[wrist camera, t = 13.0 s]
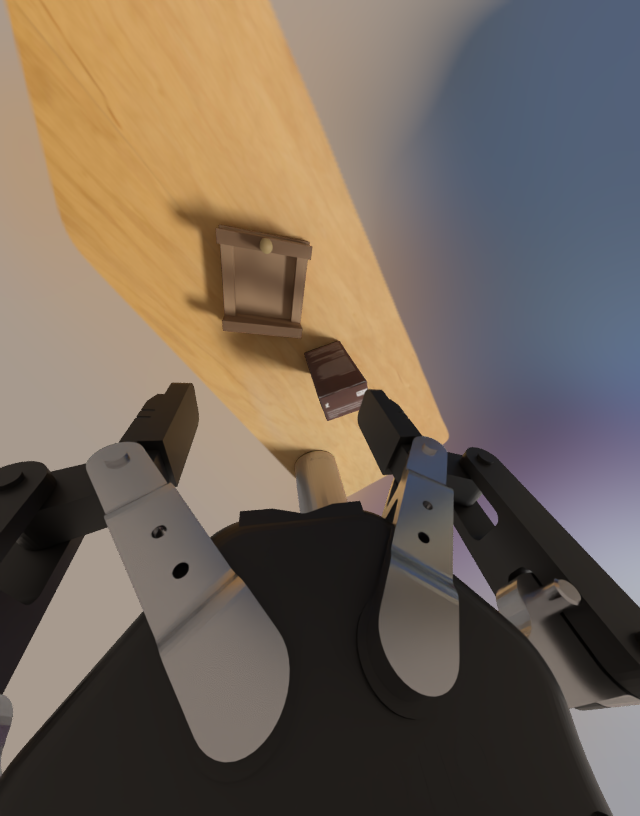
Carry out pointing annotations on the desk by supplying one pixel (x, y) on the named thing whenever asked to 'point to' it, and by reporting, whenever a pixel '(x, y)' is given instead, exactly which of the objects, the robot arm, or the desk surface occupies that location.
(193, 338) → the desk surface
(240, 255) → the drawer
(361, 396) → the box
